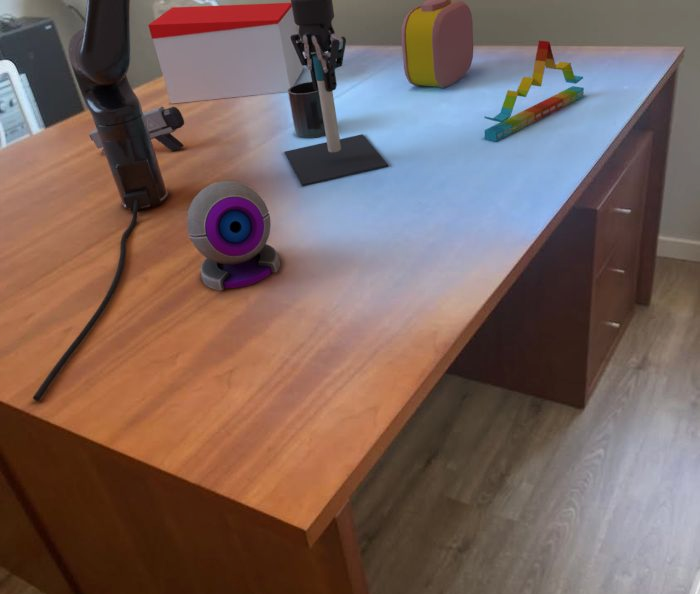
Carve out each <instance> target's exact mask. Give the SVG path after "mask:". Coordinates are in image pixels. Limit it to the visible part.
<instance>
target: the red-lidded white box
mask: <svg viewBox="0 0 700 594" xmlns="http://www.w3.org/2000/svg"><path fill="white" fill-rule="evenodd" d="M147 26H148V29H149V33H150V36H151V39H152V41H153V45H154V49H155V52H156V55H157V59H158V62H159V67H160V70H161V74H162V77H163V81H164V84H165V88H166V91H167V96H168V99H169V102H170V104H171V105H172V104H181V103H182V104H183V103H193V102H203V101H210V100H211V101H212V100H220V99H221V100H222V99H229V98H240V97H250V96H259V95H260V96H261V95H269V94H278V93H288V89H289V88H291V87H292V86H294V85H296V84H297V81H298V80H299V78H300V76H301V74H302V73H303V71H304V66H303V65H302V64H301V62H300V60H299V57H298V55H297V53H296V50H295V48H294V46H293V43H292V41H291V38H290V37H291V35H294V34H297V33H298V32H297V25H296V24H295V22H294V16H293V10H292V4H291V2H275V3H274V2H273V3H250V4H249V3H248V4H224V5H223V4H222V5H200V6H199V5H197V6H196V5H195V6H173V7H171V8H170V9H168V10H166V12H164V13H162V14H161V15H160V16H158V17H157V18H155V19H154V20H153V21H152V22H150V23H149V24H147Z"/></svg>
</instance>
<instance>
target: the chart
mask: <svg viewBox="0 0 700 594" xmlns="http://www.w3.org/2000/svg"><path fill="white" fill-rule="evenodd" d="M545 69H551V70H560V71H562V74H563V75H562V76H563V77H564V78H563V79H564V81H565V83H570V84H575V85H576V84H578V83H579V82H581V81H582V80H583V79H584V76H580V75H576V74H575V73H574V71H573V68H572V64H571V62H568V61H567V62H566V61H558V62H557V63H555V58H554V53H553V50H552V46H551V42H550V41H547V40H538V44H537V49H536V54H535V59H534V65H533V70H532V76H531V77H530V76H529V77H528V76H522V78H521V80H520V83H519V85H518V87H517V90H516V91H515V90H509V89H507V92H506V95H505V98H504V101H503V104H502V107H501V109H500V112H499V113H498V114H496V115H495V116H494V117H490V116H483V117H484V119H486V120H489V121H493V122H496V124H494V125H491V126H490V127H488V128H486V129H484V140H487V141H492V142H498V141H500V140H501V139H504V138H506V137H508V136H509V135H512V134H514V133H515V132H517V131H519V130H522V129H523V128H526V127H527V126H529V125H531V124H534V123H535V122H537V121H539V120H540V119H543V118H545V117H546V116H549V115H550V114H553V113H554V112H556V111H558V110H560V109H562V108H564V107H566V106H568V105H570V104H572V103H574V102H575V101H577V100H579V99H581V98H583V97H584V93H585V88H584V87H582V86H575V85H572V86H569V87H567V88H565V89H564V90H562V91H560V92H558V93H557V94H555V95H552V96H550V97H548V98H546V99H544V100H542V101H540V102H538V103H536V104H534V105H533V106H530V107H528V108H526V109H524V110H521V111H520V112H518V113H516V114H513V115H512V113H513V110H514V107H515V104H516V102H517V98H518V97H523V98H527V96H528V93H529V92H530V89H531V87H532V86H535V87H542V85H543V84H542V83H543V79H544V73H545ZM574 74H575V75H574ZM497 122H498V123H497Z"/></svg>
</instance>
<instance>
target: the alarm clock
mask: <svg viewBox="0 0 700 594" xmlns="http://www.w3.org/2000/svg"><path fill="white" fill-rule="evenodd" d="M472 15H473V14H472V12H471V8H470V7H469V5H468V4H467V3H466V2H465V1H463V0H457V1H452V0H426V1H424V2H423V3H422V4H420V5H418V6H416V7H414V8H412V9H411V10H410V11H408V12H407V14H406V15H405V17H404V19H403V21H402V25H401V32H400V33H401V39H400V40H401V51H402V62H403V70H404V76H405V78H406V79H407V81H408V83H409V84H411V85H412V86H415V87H417V86H418V87H419V86H424V87H425V86H427V87H440V88H442V89H444V88H448V87H450V86H452V85H453V84H455V83H456V82H458V81H459V80H460V79H462V78H464V77H465V76H466V75H467V73H469V72H470V71H469V70H470V68H471V66H472V63H473V58H474V31H473V30H474V27H473V26H474V25H473V16H472Z"/></svg>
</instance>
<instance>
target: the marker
mask: <svg viewBox="0 0 700 594" xmlns="http://www.w3.org/2000/svg"><path fill="white" fill-rule="evenodd" d="M326 53H327V52H324V53H323V54H326ZM312 57H313V63H314V70H315V76H316V80H317V83H318V90H319V96H320V102H321V109H322V115H323V121H324V127H325V134H326V135H325V139H326V142H327V146H328V151H329V152H338V151H340V150H341V144H340V139H341V138H340V131H339V126H338V119H337V113H336V104H335V99H334V92H333V91H334V90H333V91H331V92H328V91H326V88H325V82H324V75H323V72H324V71H323V67H322V64H321V61H320V60H319V59H318V56H317V54H315V55H313V56H312ZM327 63H328V64H329V59H328V58H327Z"/></svg>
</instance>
